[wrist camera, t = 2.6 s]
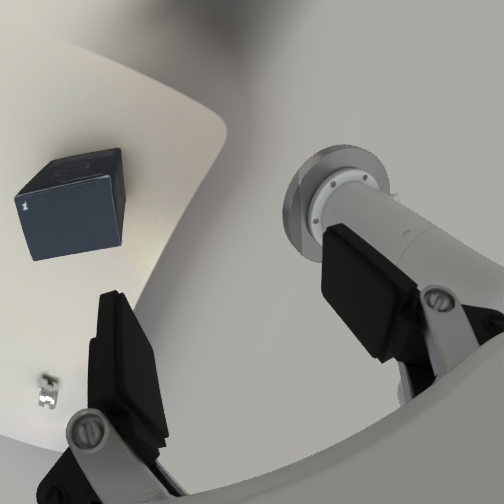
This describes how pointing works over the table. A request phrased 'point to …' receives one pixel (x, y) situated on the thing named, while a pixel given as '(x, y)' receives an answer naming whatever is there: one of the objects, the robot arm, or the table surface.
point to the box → (74, 205)
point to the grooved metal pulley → (48, 393)
